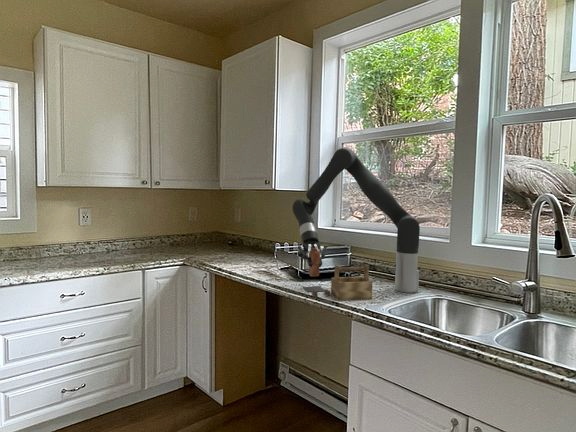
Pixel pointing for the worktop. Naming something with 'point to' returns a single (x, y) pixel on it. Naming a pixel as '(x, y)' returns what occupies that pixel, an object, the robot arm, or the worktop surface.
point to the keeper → (324, 293)
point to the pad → (317, 288)
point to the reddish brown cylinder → (314, 262)
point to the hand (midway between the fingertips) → (315, 266)
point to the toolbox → (351, 284)
